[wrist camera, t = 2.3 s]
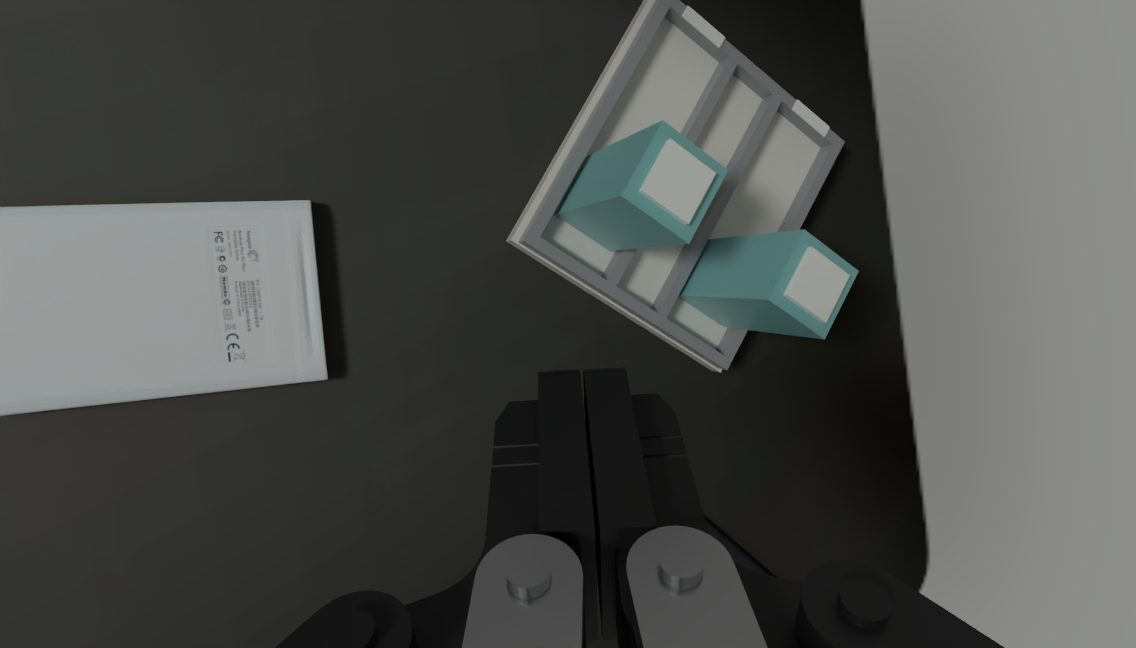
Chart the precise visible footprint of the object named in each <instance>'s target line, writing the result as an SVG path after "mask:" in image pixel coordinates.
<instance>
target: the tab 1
mask: <svg viewBox="0 0 1136 648" xmlns="http://www.w3.org/2000/svg"><path fill="white" fill-rule="evenodd" d="M727 172H728V170H727V169H726V168H725V167H723V166H722V165H721V164H719V163H718V162H717V161H715V160H714V159H713V158H712V157H710V156H709V155H708V154H706V153H705V152H704V151H702V150H701V149H700V148H699V147H697V146H696V145H695V144H693V143H692V142H691V141H689V140H688V139H687V138H686V137H684V136H683V135H682V134H680V133H679V132H678V131H677V130H675V129H674V128H673V127H671V126H670V125H669V124H667V123H666V122H665V121H664V120H662V121H660V122H658V123H656V124H654V125H651V126H649V127H647V128H645V129H643V130H641V131H639V132H637V133H635V134H632V135H630V136H628V137H626V138H624V139H622V140H620V141H618V142H615V143H613V144H611V145H609V146H607V147H605V148H603V149H601V150H599V151H596V152H594V153H592V154H590V155H588V156H587V158H586V160H585V162H584V163H583V165H582V167H581V169H580V170H579V172H578V174H577V176H576V178H575V179H574V181H573V183H572V185H571V186H570V188H569V190H568V192H567V194H566V195H565V197H564V199H563V201H562V202H561V204H560V206H559V208H558V209H557V211H556V213H555V215H556V216H557V217H559V218H560V219H562V220H563V221H565V222H567V223H568V224H570V225H571V226H573V227H574V228H576V229H577V230H579V231H580V232H582V233H583V234H585V235H586V236H588V237H589V238H591V239H592V240H594V241H595V242H597V243H598V244H600V245H601V246H603V247H604V248H606V249H607V250H609V251H619V250H629V249H640V248H650V247H661V246H671V245H681V244H689V243H690V241H691V239H692V237H693V235H694V234H695V232H696V230H697V228H698V226H699V224H700V222H701V221H702V219H703V217H704V215H705V213H706V211H707V209H708V207H709V206H710V204H711V202H712V200H713V198H714V196H715V194H716V192H717V191H718V189H719V187H720V185H721V183H722V181H723V179H724V178H725V176H726V174H727Z"/></svg>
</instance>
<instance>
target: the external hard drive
mask: <svg viewBox="0 0 1136 648" xmlns="http://www.w3.org/2000/svg"><path fill="white" fill-rule="evenodd" d="M327 379H328V376H327V366H326V356H325V346H324V335H323V325H322V315H321V303H320V292H319V282H318V273H317V261H316V251H315V240H314V229H313V219H312V208H311V201H310V200H295V201H250V202H198V203H152V204H108V205H63V206H28V207H0V416H3V415H12V414H21V413H30V412H39V411H48V410H58V409H67V408H75V407H85V406H94V405H103V404H112V403H121V402H130V401H139V400H148V399H157V398H166V397H175V396H184V395H194V394H203V393H212V392H221V391H230V390H239V389H248V388H257V387H266V386H274V385H283V384H292V383H300V382H311V381H319V380H327Z"/></svg>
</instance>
